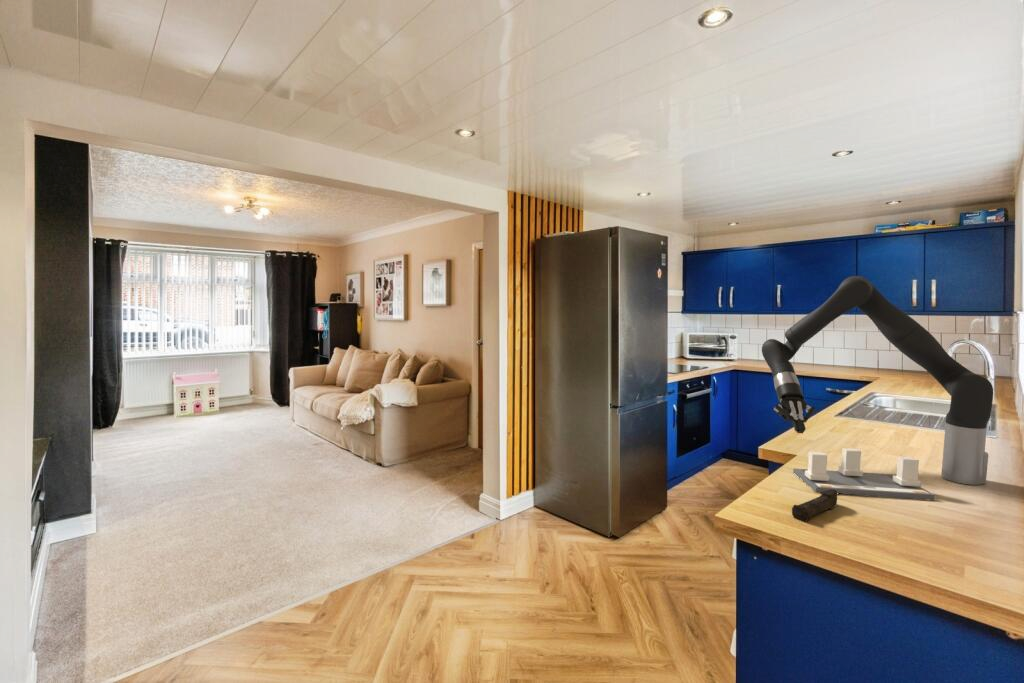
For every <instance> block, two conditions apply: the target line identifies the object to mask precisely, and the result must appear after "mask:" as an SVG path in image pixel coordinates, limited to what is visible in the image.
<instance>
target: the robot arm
mask: <svg viewBox="0 0 1024 683" xmlns="http://www.w3.org/2000/svg"><path fill="white" fill-rule="evenodd" d="M855 308H857V309H858V310H860V311H861V313H863V314H865V315H866V316H867V317H868V318H869V319H870V320H871V321H872V323H873V324H874V325H875V326H876V327H877V329H878V331H879V332H880V333H881V334H882V336H884V338H886V340H887V341H888V342H889V343H890V344H892V345H893V346H894V347H895V348H896V349H898V351H900V352H901V353H902V354H903V355H904V356H906V357H907V358H909V359H910V360H912V361H913V362H914V363H916V364H917V365H918V366H920V367H922V368H923V369H924V370H925V371H926V372H927V373H929V374H930V375H931V376H932V377H933V378H934V379H935V380H936V381H937V382H938V383H939V384H940V385H941V387H942V388H943V389H945V390H944V391H946V392H947V393H948V395H949V396H951V397H950V405H949V411H948V412H947V413H946V415H945V426H944V438H943V450H942V462H941V464H942V465H941V477H942V478H943V479H945V480H948V481H951V482H954V483H958V484H961V485H962V484H963V485H972V486H980V485H986V484H987V474H988V465H989V452H987V451H986V441H987V440H986V439H987V428H988V423H989V421H990V419H991V415H992V408H993V403H994V402H993V401H994V387H993V385H992V383H991V381H990V380H989V379H988V378H986V377H985V376H983V375H980V374H977V373H975V372H972V371H971V370H970V369H968V368H967V367H965V366H963V365H962V364H961V363H960V362H958V361H957V360H955V359H954V358H953V357H952V356H951V355H949V354H948V352H947V351H946V350H945V348H943V346H942V345H941V343H940V342H939V341H938V340H937V339H936V338H935V337H934V335H932V334H931V333H930V332H929V331H928V330H927V329H926V328H925V327H923V326H922V325H921V324H920V323H919V322H917V321H916V320H915V319H914V318H912V317H911V316H910V315H908V314H907V313H906V312H905V311H903V310H902V309H900V308H899V307H897V306H896V305H894V304H893V303H892V302H891V301H889V300H888V299H887V298H886V297H885V296H884V295H883V294H882V293H881V292H880V291H879V290H878V289H877V288H876V287H875V285H873V283H872V282H871V281H870V280H869V279H867V278H866V277H864V276H860V275H853V276H849V277H847V278H845V279H844V280H843V281H842V282H841V283H840V284H839V285H838V288H837V289H836V290H835V292H833V294H832V295H831V296H829V297H828V299H827V300H826V301H825V302H823V304H821V305H820V306H818V307H817V308H815V309H814V310H813V311H811V312H810V313H808V314H807V315H805V316H804V317H802V318H801V319H800V320H798V321H797V322H796V323H795V324H793V325H792V326H791V327H789V328H788V329H787V330H786V331H785V333H784V337H785V338H786V342H785V343H784V342H781V341H780V340H777V339H775V338H770V339H767V340H765V341H764V342H763V344H762V346H761V354H762V356H763V359H764V361H765V362H766V364H767V365H768V367H769V368H770V371H771V375H772V377H773V378H772V379H773V384H774V389H775V393H776V395H777V399H778V404H775V406H774V408H773V410H772V411H773V412H774V413H776V414H777V415H778V416H779V417H780V418H782V419H783V421H785V422H787V423H789V422H790V423H791V424H792V426H793V430H794V432H796V433H797V434H804V432H805V431H806V425H805V423H807V422H808V420H809V419H810V418H811V416H812V414H814V411H815V410H816V406H813V405H812V406H810V405H808V403H807V401H806V400H805V399H804V398H805V397H804V393H803V391H802V387H801V385H800V381H799V379H798V376H797V375H796V372H795V368H794V365H793V364H792V363H791V361H790V360H791V359H793V357H794V356H795V355H796V354H797V352H798V351H799V349H800V348H801V347H802V346H803V345H804V344H805V343H807V342H808V341H809V340H811V339H812V338H813V337H814V336H816V335H817V334H818V333H820V331H822V330H824V329H825V328H826V327H828V325H830V323H832V322H833V321H835V320H836V319H838V318H839V317H841V316H842V315H844V314H846V313H847V312H850V311H851V310H853V309H855ZM804 411H805V412H806V414H805V416H804V415H803V414H804Z"/></svg>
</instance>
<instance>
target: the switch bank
mask: <svg viewBox="0 0 1024 683" xmlns="http://www.w3.org/2000/svg"><path fill="white" fill-rule="evenodd" d="M805 470H808V468H793V470H792V473H793V474H794V473H795V474H796V475H797V476H798V477H799V478H798V477H797V476H796V475H795V474H794V475H795V476H796V477H797V478H798V479H800V478H801V479H802V480H803V481H804V482H805V483H806V484H805V483H804V482H803V481H802V480H801V479H800V480H801V481H802V482H803V483H804V484H805V485H807V486H808V487H809V486H810V487H811V488H812V489H813V490H812V489H811V488H810V487H809V488H810V489H811V490H812V491H813V492H815V493H817V492H823V491H826V490H830V489H833V490H836V491H837V493H843V494H842V495H847V494H856V495H855V496H863V495H869V496H868V497H878V496H881V497H882V498H893V497H894V498H897V499H909V498H914V499H913V500H924V499H930V500H929V501H935V494H934V493H933V492H931V491H929V490H927V489H925V488H923V487H922V486H921V487H918V486H902V485H900V484H898V483H896V482H895V481H893V476H897V473H894V474H893V473H878V472H863V476H848V475H843V474H842V473H841V472H839V471H838V470H829V469H827V470H826V474H827V475H829V481H821V480H810V479H809V478H808V477H806V476H805ZM870 495H871V496H870ZM881 497H880V498H881ZM915 498H916V499H915Z"/></svg>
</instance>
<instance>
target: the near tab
mask: <svg viewBox="0 0 1024 683" xmlns="http://www.w3.org/2000/svg"><path fill="white" fill-rule="evenodd" d="M919 463H920V459H918V458H915V457H913V456H912V457H911V456H897V466H896V474H897V476H893V481H895V482H896V483H898V484H900V485H902V486H918V487H922V481H921V480H919V478H918V477H919Z"/></svg>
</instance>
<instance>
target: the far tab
mask: <svg viewBox="0 0 1024 683" xmlns="http://www.w3.org/2000/svg"><path fill="white" fill-rule="evenodd" d="M807 463H808V464H807V465H808V466H807V469H808V470H805V476H806V477H808V478H809V479H810V480H821V481H829V475H827V474H826V470H828V468H827V465H828V455H827V454H826V453H824V452H818V451H817V452H816V451H809V452H808V461H807Z"/></svg>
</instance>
